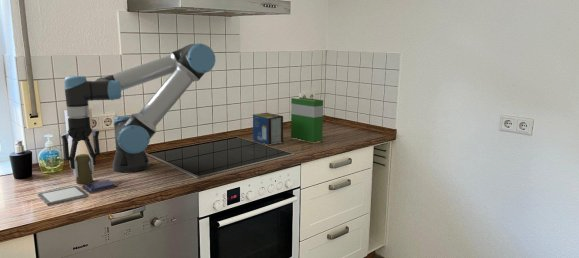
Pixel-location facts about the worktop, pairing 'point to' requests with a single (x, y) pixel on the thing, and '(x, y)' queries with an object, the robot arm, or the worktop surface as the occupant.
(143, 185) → the worktop surface
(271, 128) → the protein box
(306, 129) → the green canister
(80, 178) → the olive tapered cylinder
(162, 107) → the robot arm
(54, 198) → the marked mat
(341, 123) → the worktop surface
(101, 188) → the pad
